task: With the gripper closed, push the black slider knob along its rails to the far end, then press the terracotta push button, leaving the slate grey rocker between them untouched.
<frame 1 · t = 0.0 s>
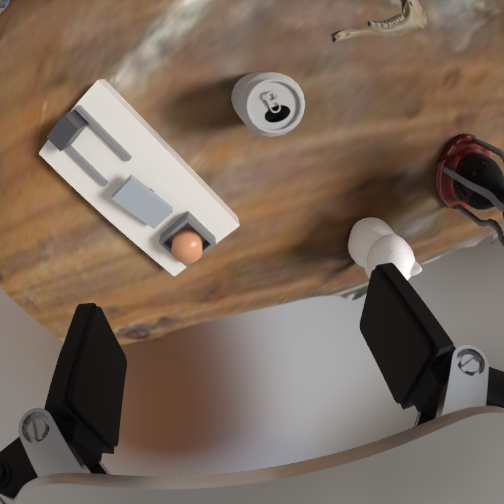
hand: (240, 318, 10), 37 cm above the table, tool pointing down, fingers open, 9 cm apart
can: (257, 97, 40), on the table
slider: (67, 129, 33), point 5 cm above the table, slide at 0.0 cm
jawbone: (374, 7, 33), on the table
panel: (139, 180, 44), on the table
cat figurine: (363, 237, 56), on the table
pill bottle: (0, 2, 22), on the table
button: (187, 246, 45), point 6 cm above the table, slide at 0.0 cm
hourglass: (461, 170, 51), on the table
slate rocker: (142, 203, 41), point 5 cm above the table, hinge at 14.0°
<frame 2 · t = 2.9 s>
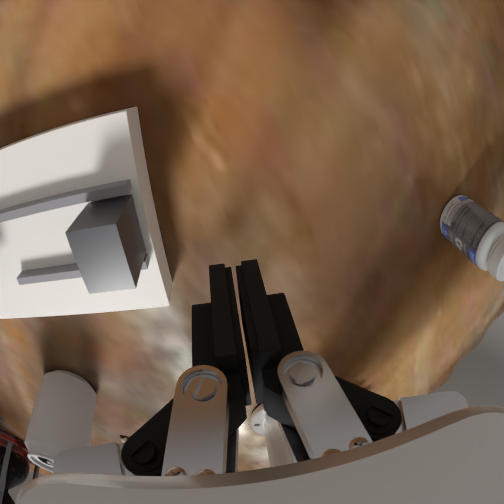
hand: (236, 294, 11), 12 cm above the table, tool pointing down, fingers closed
can: (71, 383, 31), on the table
slider: (109, 242, 17), point 5 cm above the table, slide at 0.0 cm
pill bottle: (454, 215, 26), on the table
hourglass: (12, 443, 43), on the table
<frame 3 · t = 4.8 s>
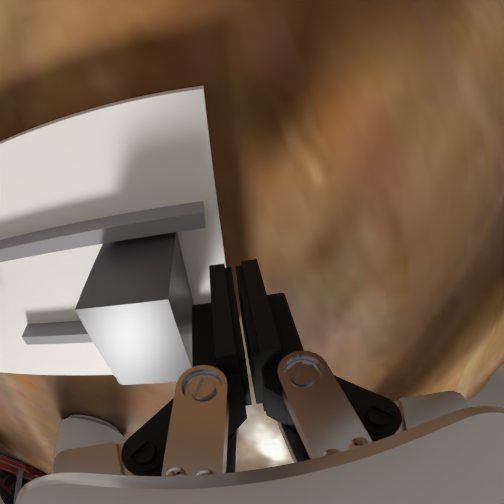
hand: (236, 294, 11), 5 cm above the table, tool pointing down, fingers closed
can: (93, 425, 26), on the table
slider: (145, 308, 11), point 5 cm above the table, slide at 1.2 cm, touching gripper
hourglass: (21, 467, 38), on the table
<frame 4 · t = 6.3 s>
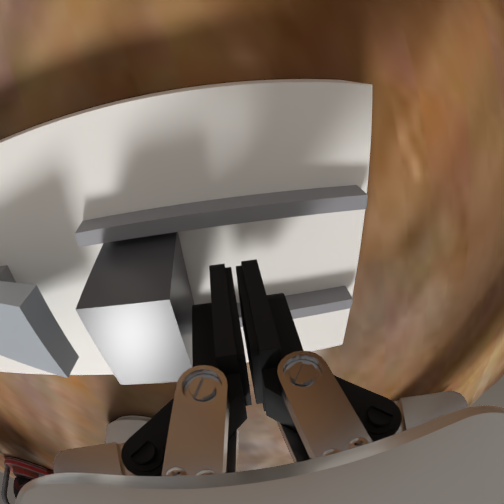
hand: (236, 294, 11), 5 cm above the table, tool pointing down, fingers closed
can: (142, 426, 26), on the table
slider: (146, 308, 11), point 5 cm above the table, slide at 7.2 cm, touching gripper
panel: (62, 252, 15), on the table
hourglass: (40, 472, 39), on the table
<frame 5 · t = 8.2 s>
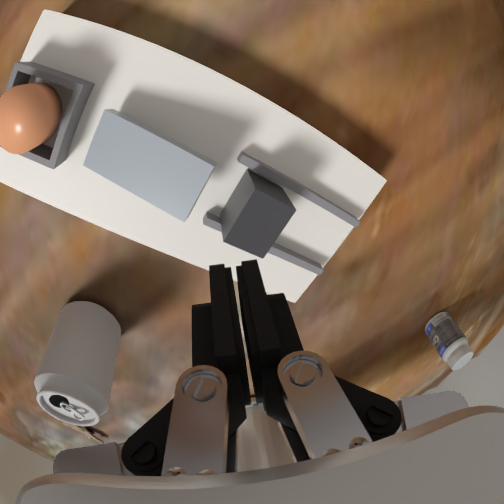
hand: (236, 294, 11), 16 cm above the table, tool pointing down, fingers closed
can: (91, 319, 31), on the table
slider: (254, 212, 21), point 5 cm above the table, slide at 7.1 cm
jawbone: (95, 413, 43), on the table
panel: (180, 154, 23), on the table
pill bottle: (435, 321, 41), on the table
button: (26, 116, 14), point 6 cm above the table, slide at 0.0 cm
slate rocker: (146, 162, 18), point 5 cm above the table, hinge at 14.0°
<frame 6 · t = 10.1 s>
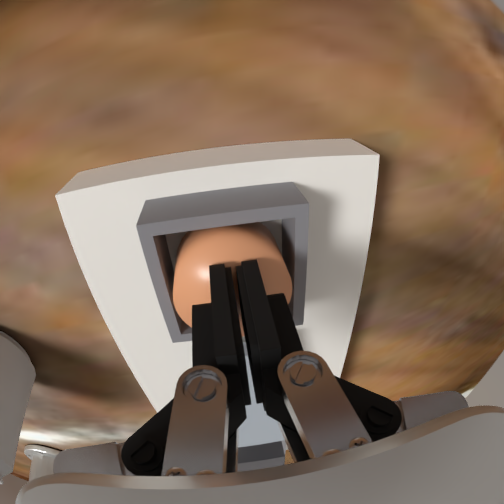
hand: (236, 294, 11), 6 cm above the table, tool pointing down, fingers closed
can: (4, 349, 20), on the table
slider: (254, 444, 21), point 5 cm above the table, slide at 7.1 cm
panel: (239, 354, 22), on the table
button: (230, 277, 12), point 5 cm above the table, slide at 1.1 cm, touching gripper
slate rocker: (247, 401, 17), point 5 cm above the table, hinge at 14.0°
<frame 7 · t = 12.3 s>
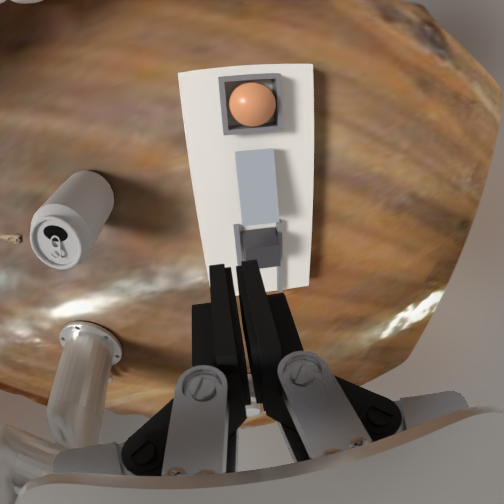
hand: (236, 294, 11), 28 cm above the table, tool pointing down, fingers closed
can: (90, 194, 36), on the table
slider: (260, 248, 38), point 5 cm above the table, slide at 7.1 cm
panel: (252, 185, 38), on the table
pill bottle: (245, 378, 62), on the table
button: (251, 103, 28), point 5 cm above the table, slide at 1.2 cm
slate rocker: (257, 187, 33), point 5 cm above the table, hinge at 14.0°
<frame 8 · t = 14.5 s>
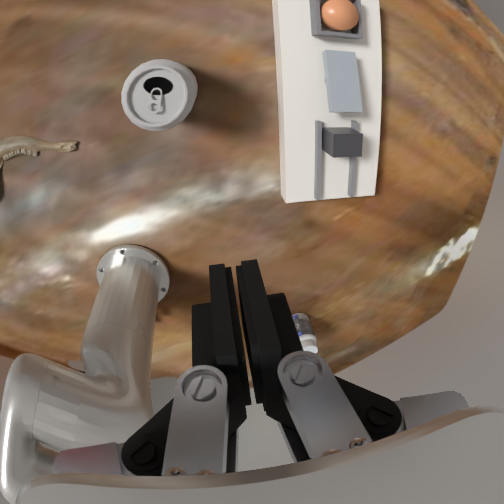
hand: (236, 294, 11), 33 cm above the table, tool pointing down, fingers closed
can: (169, 89, 35), on the table
slider: (341, 141, 37), point 5 cm above the table, slide at 7.1 cm
jawbone: (28, 169, 37), on the table
panel: (327, 92, 38), on the table
pill bottle: (296, 320, 61), on the table
button: (338, 14, 28), point 5 cm above the table, slide at 1.2 cm
slate rocker: (342, 81, 32), point 5 cm above the table, hinge at 14.0°
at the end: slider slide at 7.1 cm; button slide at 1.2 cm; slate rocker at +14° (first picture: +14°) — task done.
